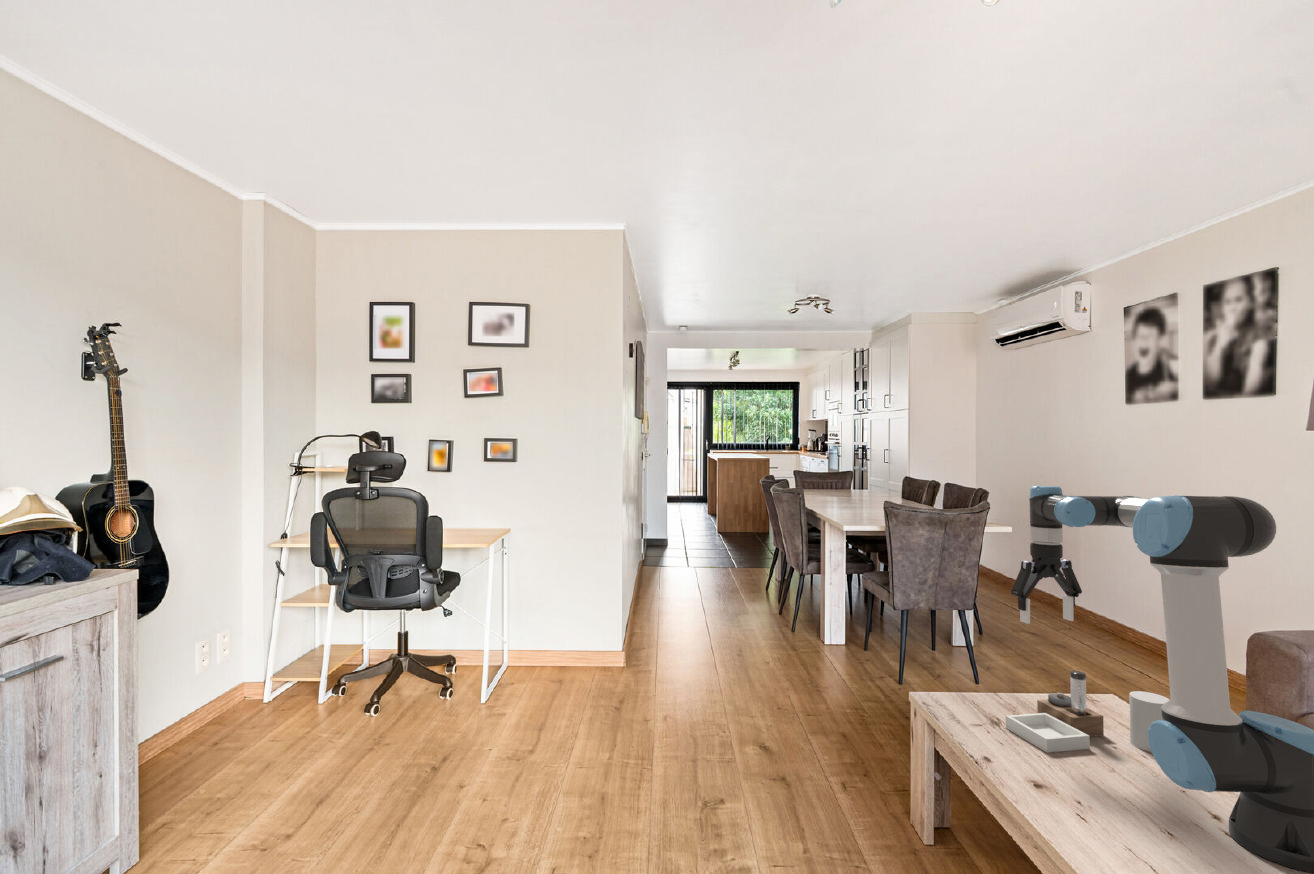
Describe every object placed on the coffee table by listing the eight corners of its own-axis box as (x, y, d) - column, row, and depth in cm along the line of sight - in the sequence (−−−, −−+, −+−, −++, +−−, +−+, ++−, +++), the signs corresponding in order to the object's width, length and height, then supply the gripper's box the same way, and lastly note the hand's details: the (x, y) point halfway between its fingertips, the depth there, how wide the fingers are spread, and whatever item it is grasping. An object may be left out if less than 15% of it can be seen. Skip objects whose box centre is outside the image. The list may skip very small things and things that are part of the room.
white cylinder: (1178, 749, 155) (1177, 700, 156) (1160, 756, 152) (1159, 705, 152) (1141, 736, 163) (1140, 689, 163) (1123, 742, 159) (1122, 694, 160)
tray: (1089, 748, 156) (1089, 735, 156) (1046, 752, 154) (1046, 739, 154) (1045, 724, 169) (1045, 712, 169) (1005, 727, 167) (1005, 715, 167)
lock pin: (1090, 733, 164) (1089, 674, 164) (1078, 734, 163) (1077, 675, 164) (1079, 728, 167) (1078, 670, 168) (1067, 729, 167) (1067, 671, 167)
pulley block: (1103, 735, 163) (1103, 705, 163) (1073, 737, 162) (1072, 707, 162) (1066, 716, 175) (1065, 688, 175) (1037, 718, 173) (1037, 690, 174)
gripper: (1073, 539, 177) (1074, 615, 177) (996, 541, 172) (996, 619, 172) (1097, 543, 170) (1097, 622, 170) (1016, 545, 165) (1017, 627, 165)
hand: (1046, 621), depth 171 cm, fingers open, 13 cm apart
